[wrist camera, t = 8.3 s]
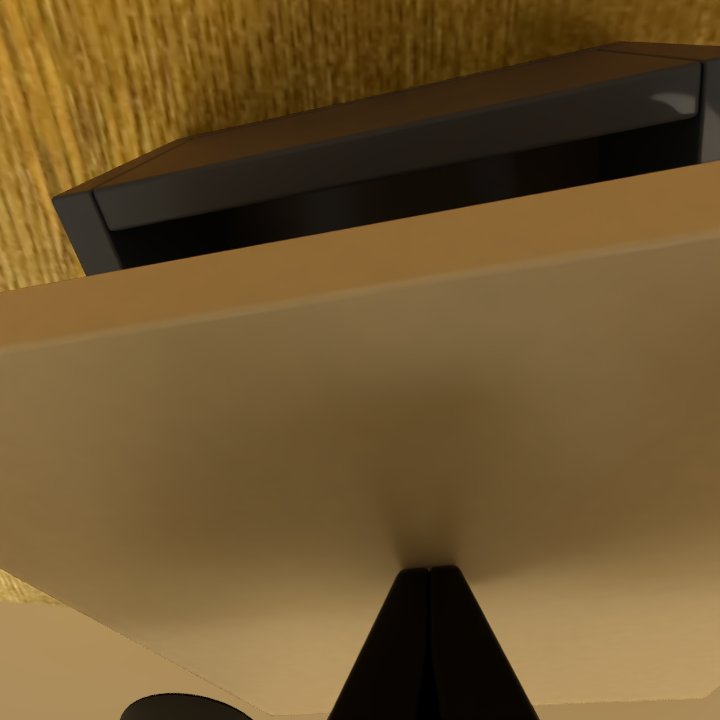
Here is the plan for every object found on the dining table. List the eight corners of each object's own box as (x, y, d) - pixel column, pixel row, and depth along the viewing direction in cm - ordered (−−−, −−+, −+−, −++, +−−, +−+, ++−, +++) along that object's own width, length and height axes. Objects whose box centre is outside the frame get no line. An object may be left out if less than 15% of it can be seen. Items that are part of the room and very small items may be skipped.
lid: (-251, 336, 6) (-314, 401, 5) (1212, 65, 4) (1353, 129, 3) (272, 684, 17) (270, 716, 16) (694, 663, 15) (706, 698, 15)
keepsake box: (174, 139, 16) (48, 198, 10) (623, 40, 14) (764, 47, 8) (307, 526, 23) (274, 684, 17) (618, 496, 21) (693, 664, 15)
